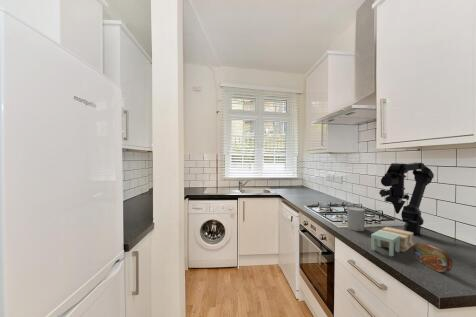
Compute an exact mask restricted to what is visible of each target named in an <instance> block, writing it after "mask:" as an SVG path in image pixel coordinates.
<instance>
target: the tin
mask: <svg viewBox="0 0 476 317" xmlns="http://www.w3.org/2000/svg"><path fill="white" fill-rule="evenodd" d="M412 250H413V251H412V252H413V255H414V258H415V259H416V260H417V262H419V263H420V262H421V263H420V264H422V263H423V264H422V265H424V264H425V265H424V266H426V267H428V268H430V269H431V268H432V270H433V269H434V270H433V271H435V270H436V272H437V271H438V273H448V272H450V271H451V270H452V268H453V260H452V258H451V256H450V255H449V253H448V252H446V251H445V250H443V249H440V248H438V247H437V246H433V245H431V244H428V243H426V242H417V243H415V244H413V248H412Z"/></svg>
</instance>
